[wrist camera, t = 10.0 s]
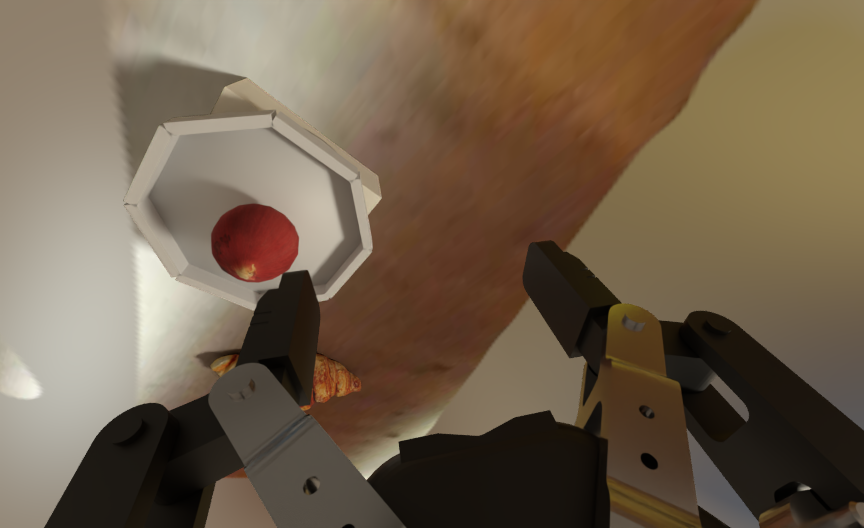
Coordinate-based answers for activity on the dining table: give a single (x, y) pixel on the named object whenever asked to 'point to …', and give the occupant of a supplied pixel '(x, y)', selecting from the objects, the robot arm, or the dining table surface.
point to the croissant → (325, 382)
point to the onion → (254, 243)
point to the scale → (252, 192)
